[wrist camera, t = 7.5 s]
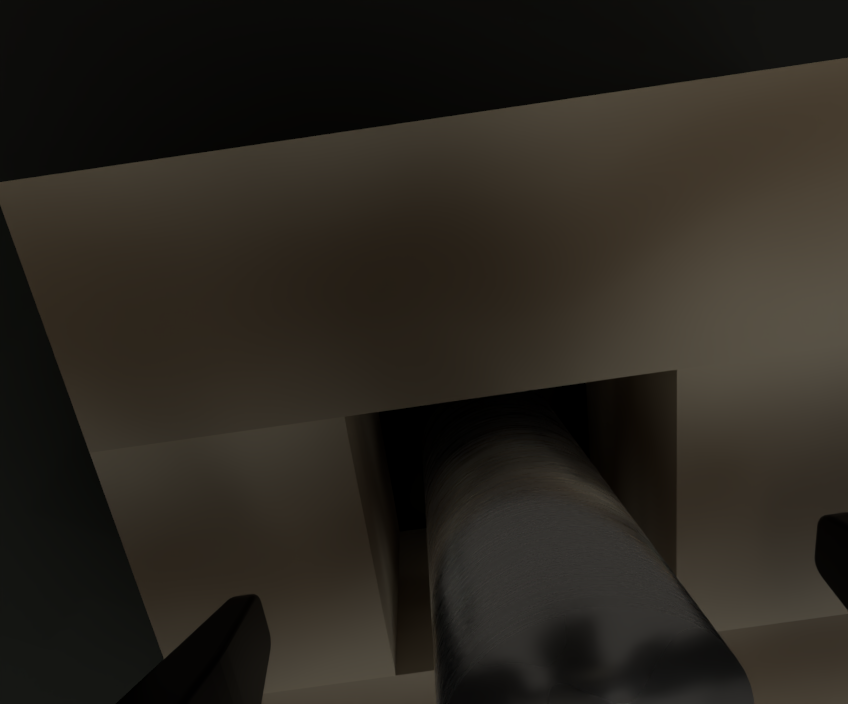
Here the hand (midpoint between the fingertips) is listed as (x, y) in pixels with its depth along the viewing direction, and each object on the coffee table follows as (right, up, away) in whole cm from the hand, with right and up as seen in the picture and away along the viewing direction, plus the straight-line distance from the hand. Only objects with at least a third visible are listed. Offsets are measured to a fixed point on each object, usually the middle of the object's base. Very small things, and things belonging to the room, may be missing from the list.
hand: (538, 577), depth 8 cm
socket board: (0, +1, +5) cm, 6 cm away
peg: (0, +1, +5) cm, 6 cm away
